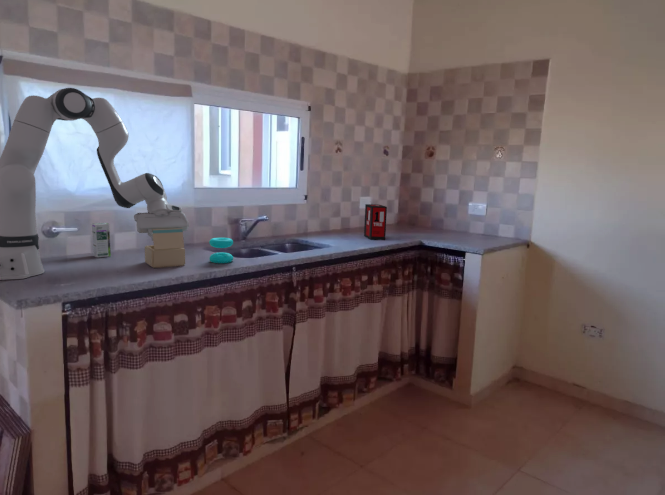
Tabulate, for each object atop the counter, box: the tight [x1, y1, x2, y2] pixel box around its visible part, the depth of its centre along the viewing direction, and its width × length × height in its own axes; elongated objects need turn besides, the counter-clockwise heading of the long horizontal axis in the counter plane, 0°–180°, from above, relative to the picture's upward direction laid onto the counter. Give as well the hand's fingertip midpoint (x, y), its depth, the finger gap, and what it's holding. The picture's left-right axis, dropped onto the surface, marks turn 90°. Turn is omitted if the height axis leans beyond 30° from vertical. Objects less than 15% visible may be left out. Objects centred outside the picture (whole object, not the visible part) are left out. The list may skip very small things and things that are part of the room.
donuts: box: [208, 237, 234, 264], centre depth 203 cm, size 10×10×10 cm
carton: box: [144, 244, 186, 269], centre depth 195 cm, size 13×14×7 cm
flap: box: [152, 228, 185, 250], centre depth 188 cm, size 12×1×8 cm, turn 124°
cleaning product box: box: [363, 203, 388, 241], centre depth 289 cm, size 16×9×20 cm, turn 10°
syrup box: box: [91, 222, 112, 259], centre depth 205 cm, size 6×6×14 cm
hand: (166, 239), depth 191 cm, fingers open, 8 cm apart
